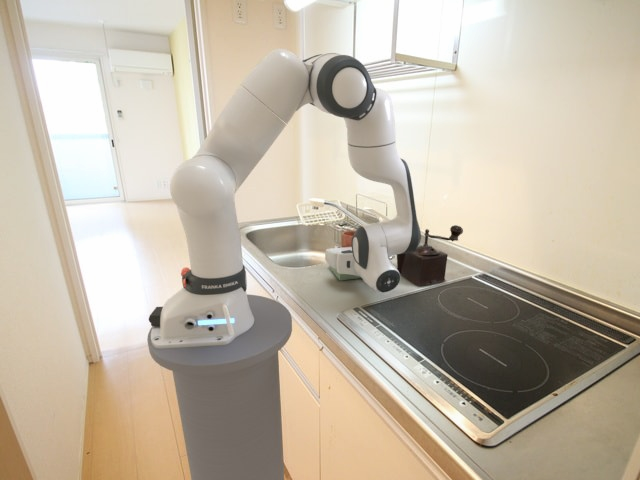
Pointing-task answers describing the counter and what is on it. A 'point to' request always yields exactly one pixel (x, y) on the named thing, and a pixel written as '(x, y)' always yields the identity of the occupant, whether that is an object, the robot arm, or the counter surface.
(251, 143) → the robot arm
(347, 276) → the scale
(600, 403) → the counter surface
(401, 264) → the coffee mug
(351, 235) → the tumbler
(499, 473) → the counter surface
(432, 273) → the manual coffee grinder
